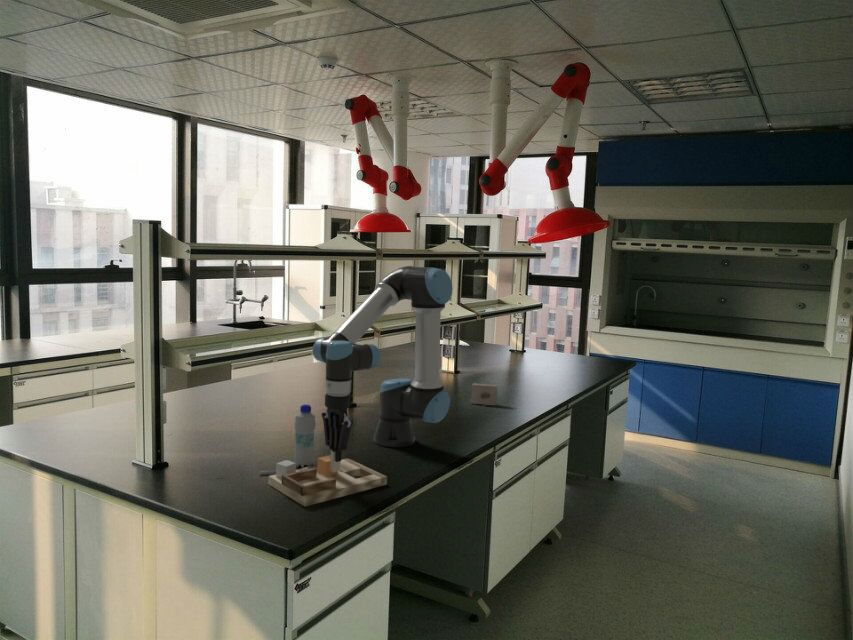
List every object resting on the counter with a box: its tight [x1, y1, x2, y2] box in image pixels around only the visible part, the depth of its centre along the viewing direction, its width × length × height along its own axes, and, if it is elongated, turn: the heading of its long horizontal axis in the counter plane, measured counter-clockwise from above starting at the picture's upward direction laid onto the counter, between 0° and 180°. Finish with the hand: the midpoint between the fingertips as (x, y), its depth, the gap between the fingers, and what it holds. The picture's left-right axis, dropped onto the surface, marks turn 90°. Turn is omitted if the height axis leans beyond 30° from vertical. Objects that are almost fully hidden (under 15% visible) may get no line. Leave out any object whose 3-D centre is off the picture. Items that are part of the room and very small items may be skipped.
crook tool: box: [259, 469, 276, 476], centre depth 198 cm, size 10×4×1 cm, turn 106°
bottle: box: [293, 404, 317, 469], centre depth 206 cm, size 7×7×20 cm
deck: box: [267, 457, 388, 507], centre depth 192 cm, size 28×20×3 cm
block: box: [275, 459, 297, 478], centre depth 190 cm, size 4×4×4 cm
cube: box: [316, 454, 338, 477], centre depth 195 cm, size 4×4×4 cm
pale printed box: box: [470, 382, 498, 406], centre depth 301 cm, size 12×4×10 cm, turn 81°
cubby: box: [282, 468, 336, 496], centre depth 184 cm, size 11×11×2 cm
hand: (335, 470), depth 193 cm, fingers closed
